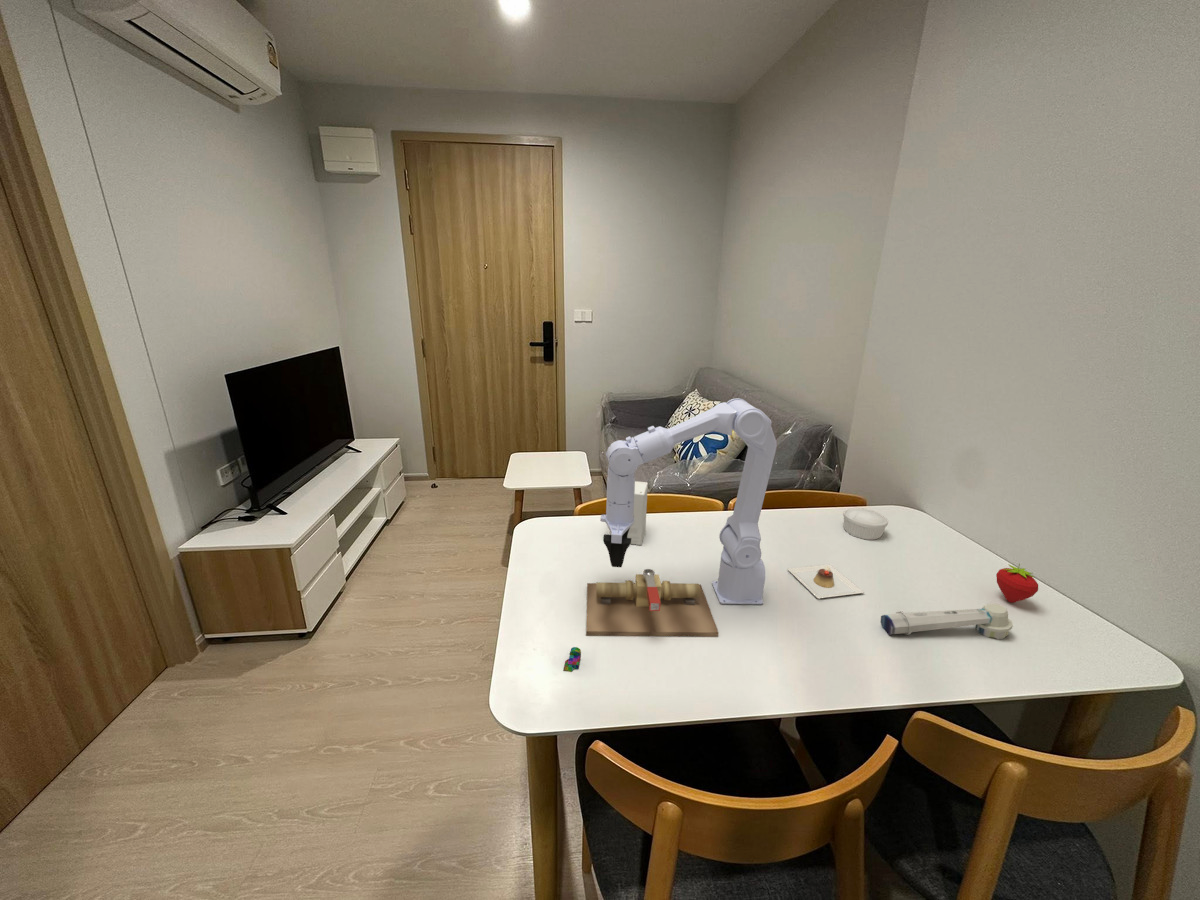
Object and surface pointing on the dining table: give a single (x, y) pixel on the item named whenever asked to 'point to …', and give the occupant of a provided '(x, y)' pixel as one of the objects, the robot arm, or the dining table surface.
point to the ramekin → (864, 523)
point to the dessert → (825, 578)
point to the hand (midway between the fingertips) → (618, 556)
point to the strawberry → (1016, 584)
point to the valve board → (629, 614)
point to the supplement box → (639, 513)
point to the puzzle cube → (573, 660)
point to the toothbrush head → (951, 621)
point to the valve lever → (651, 590)
